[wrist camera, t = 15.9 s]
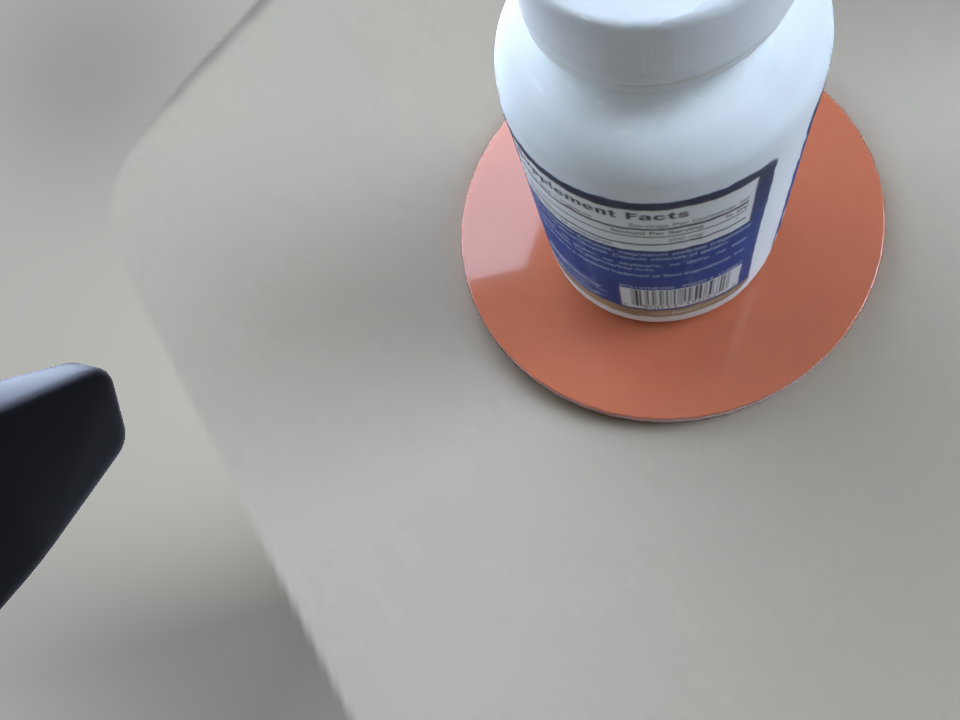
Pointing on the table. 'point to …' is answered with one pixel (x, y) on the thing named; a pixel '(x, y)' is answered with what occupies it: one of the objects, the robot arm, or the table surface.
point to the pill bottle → (661, 138)
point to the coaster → (693, 341)
